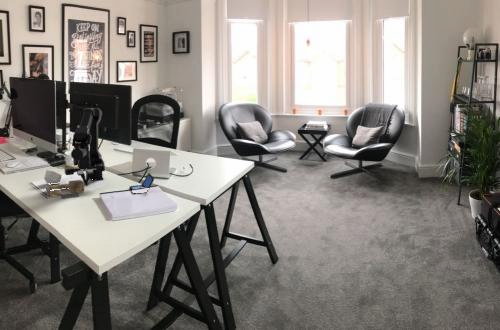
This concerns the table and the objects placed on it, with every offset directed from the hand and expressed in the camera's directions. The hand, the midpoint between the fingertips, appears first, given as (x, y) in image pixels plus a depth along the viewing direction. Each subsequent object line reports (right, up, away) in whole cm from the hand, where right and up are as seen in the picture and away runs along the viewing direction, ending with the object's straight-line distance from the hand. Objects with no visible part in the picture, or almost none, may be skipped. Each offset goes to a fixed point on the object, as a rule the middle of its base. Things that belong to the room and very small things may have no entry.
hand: (86, 185), depth 221 cm
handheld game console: (+29, -3, 0) cm, 29 cm away
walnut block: (-4, -2, -2) cm, 5 cm away
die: (-21, 0, +9) cm, 23 cm away
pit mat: (-4, -4, -11) cm, 12 cm away
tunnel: (-9, -3, -5) cm, 11 cm away
